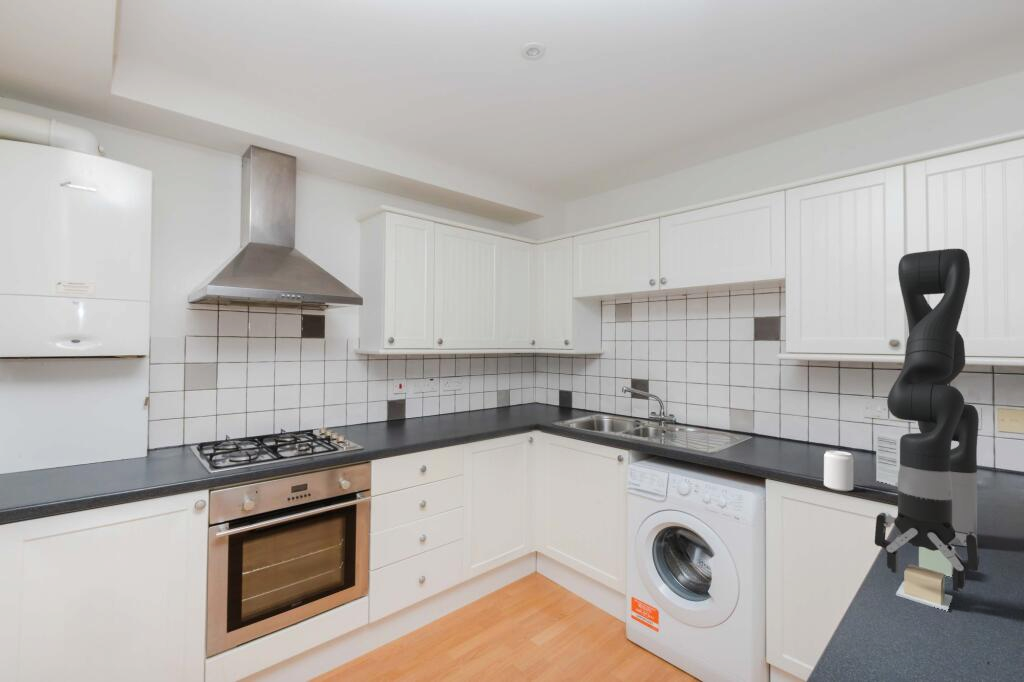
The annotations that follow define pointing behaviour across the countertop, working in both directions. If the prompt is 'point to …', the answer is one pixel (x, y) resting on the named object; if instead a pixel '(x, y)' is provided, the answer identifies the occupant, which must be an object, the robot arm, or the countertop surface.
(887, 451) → the supplement box
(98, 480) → the countertop surface
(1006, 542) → the countertop surface
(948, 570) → the sage block
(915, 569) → the maple block
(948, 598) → the white tile
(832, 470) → the beverage can
